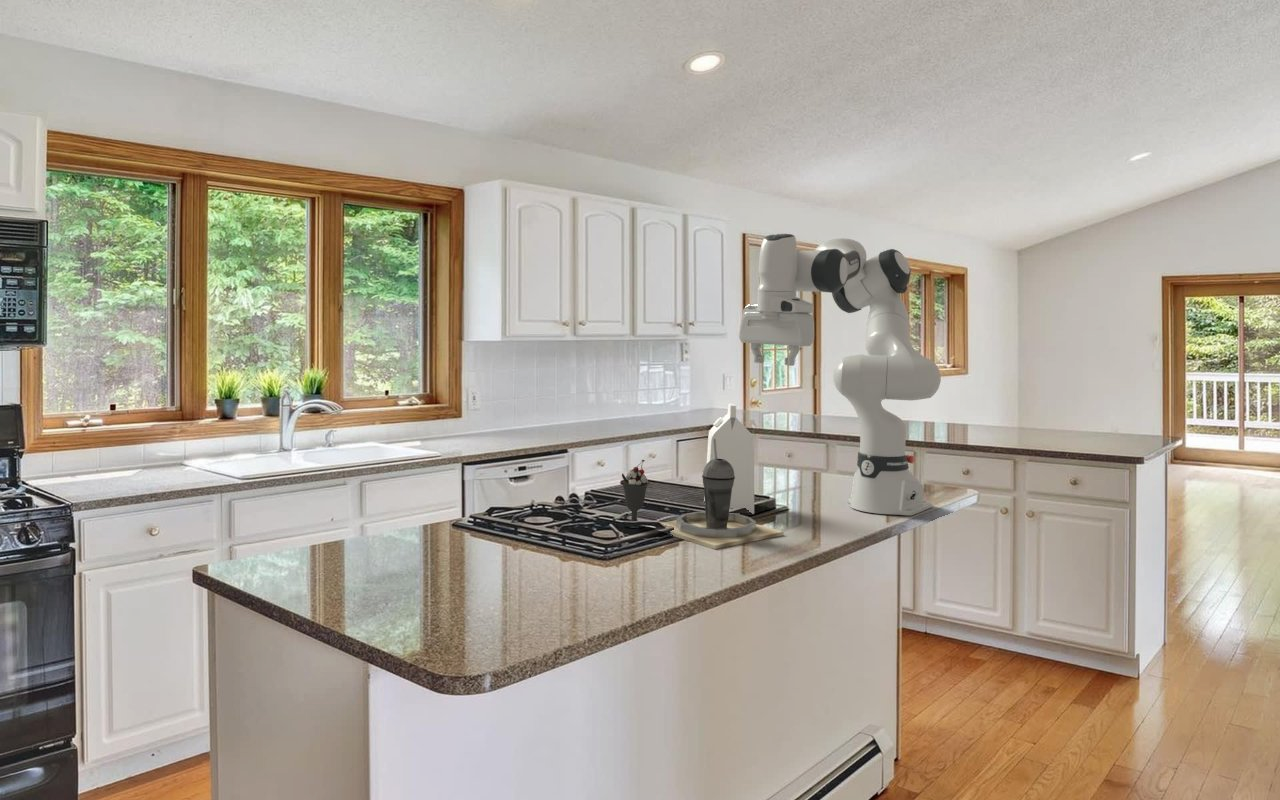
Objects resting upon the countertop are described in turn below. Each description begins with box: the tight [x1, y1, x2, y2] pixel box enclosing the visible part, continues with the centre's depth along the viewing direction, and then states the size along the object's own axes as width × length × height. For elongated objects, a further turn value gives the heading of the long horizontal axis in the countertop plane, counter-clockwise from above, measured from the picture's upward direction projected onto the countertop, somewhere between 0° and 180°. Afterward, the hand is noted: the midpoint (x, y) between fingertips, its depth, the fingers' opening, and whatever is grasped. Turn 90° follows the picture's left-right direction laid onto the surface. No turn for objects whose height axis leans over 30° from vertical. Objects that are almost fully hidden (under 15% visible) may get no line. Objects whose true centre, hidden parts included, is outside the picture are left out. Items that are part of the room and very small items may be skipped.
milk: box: [703, 403, 755, 515], centre depth 215 cm, size 12×12×26 cm
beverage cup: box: [701, 439, 735, 529], centre depth 190 cm, size 7×7×20 cm
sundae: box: [619, 459, 650, 522], centre depth 194 cm, size 7×7×15 cm
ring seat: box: [661, 511, 785, 550], centre depth 191 cm, size 21×21×3 cm
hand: (774, 364), depth 201 cm, fingers open, 8 cm apart
